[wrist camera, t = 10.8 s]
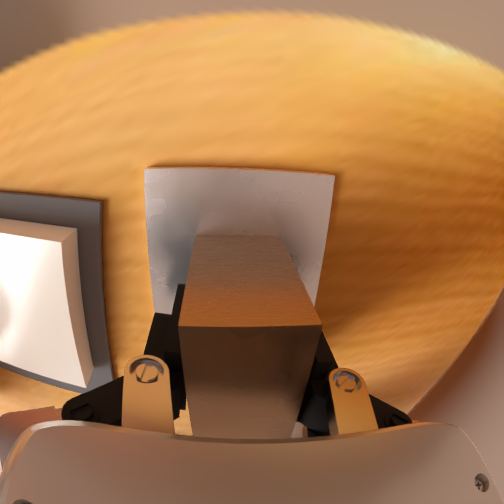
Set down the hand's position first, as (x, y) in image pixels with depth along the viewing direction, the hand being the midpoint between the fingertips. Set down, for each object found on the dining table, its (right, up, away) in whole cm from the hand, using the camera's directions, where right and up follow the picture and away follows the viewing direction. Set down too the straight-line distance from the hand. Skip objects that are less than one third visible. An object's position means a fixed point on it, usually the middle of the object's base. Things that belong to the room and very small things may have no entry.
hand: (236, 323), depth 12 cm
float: (0, +1, +1) cm, 2 cm away
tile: (-12, -3, 0) cm, 12 cm away
